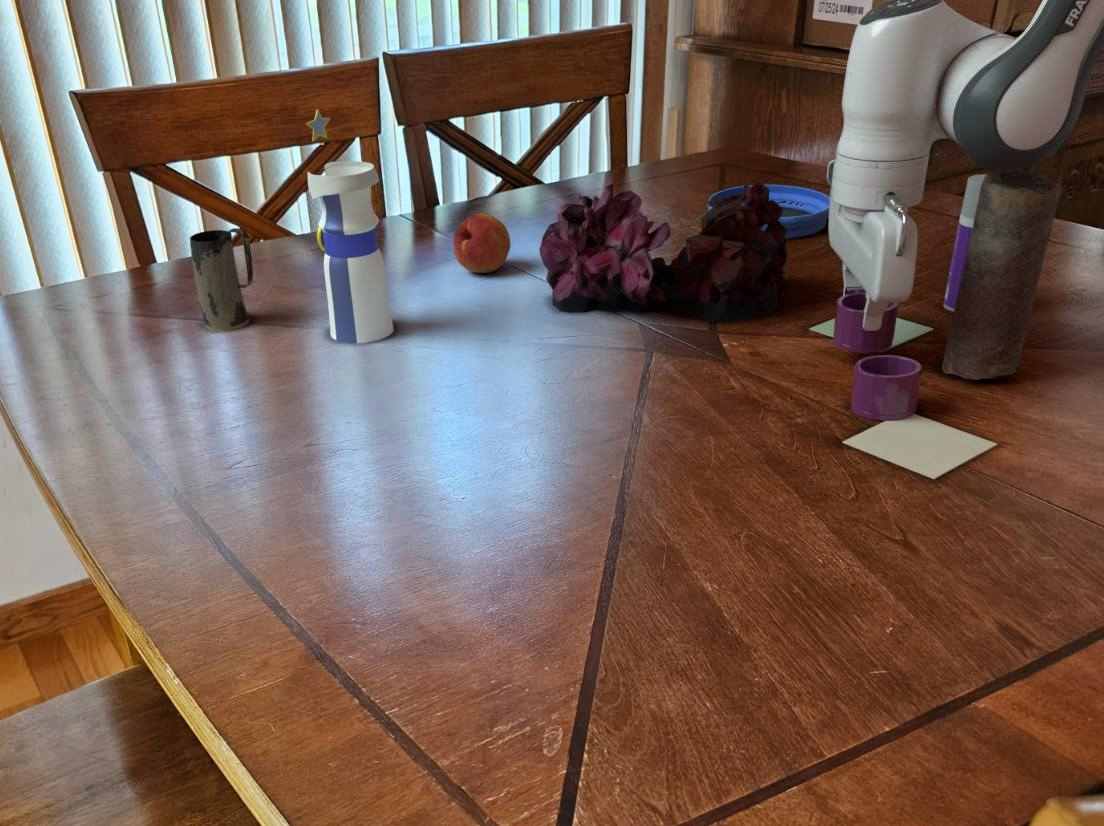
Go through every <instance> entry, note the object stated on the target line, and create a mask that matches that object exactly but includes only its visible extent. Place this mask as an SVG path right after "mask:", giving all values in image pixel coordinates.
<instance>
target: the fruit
mask: <svg viewBox="0 0 1104 826" xmlns="http://www.w3.org/2000/svg"><path fill="white" fill-rule="evenodd" d="M510 250H511V238H510V234H509V231H508V229H507V227H506V226H505V225H504V223H503V222H502V221H501V220H500V219H498V218H496V217H495V216H493V215H491V214H487V213H484V212H481V213H479V212H478V213H473V214H471V215H470V216H468V217H466V218H465V219H464V220H463V221H462V222H461V223H460V225H459V226H458V228H457V229H455V231H454V233H453V251H454V257H455V259H456V261H457V262H458V264H459V265H460V266H461V267H462V268H464V269H465V270H467V271H470V272H472V273H476V274H488V273H493V272H496V271H498V270H499V269H501V267H502V266H503V265H504V264H505V262H506V261H507V258H508V255H509V252H510Z"/></svg>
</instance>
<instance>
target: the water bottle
mask: <svg viewBox="0 0 1104 826" xmlns="http://www.w3.org/2000/svg"><path fill="white" fill-rule="evenodd" d="M314 115H315V116H314V119H312V120H311V121H308V122H306V123H305V124H306V126H307V127H309V128H310V129H311V130H312V140H311V141H312V142H314V141H315V140H317V139H318V138H320V137H322V138H324V139H328V134H327V130H326V126H327V125H328V124H329V122H330V121H331V117H323V116H322V115H321V113H320V111H319V109H316V112H315V114H314ZM323 168H324V174H325V175H321V174H320V175H318V174H313V173H310V172H309V171H307V184H308V185H307V186H308V191H309V194H310V196H311V199H312V200H315V199H316V198H319V200H320V202H321V217H320V219H319V221H318V228H317V233H316V240H317V244H318V247H319V248H320V250H321V251H323V252H324V257H323V272H324V279H325V289H326V297H327V298H326V299H327V307H328V317H329V330H330V337H331V338H332V339H333V340H334V341H336V342H339V343H344V344H367V343H373V342H377V341H381V340H383V339H385V338H387V337H389V336H391V335H392V334H393V332H394V324H393V317H392V312H391V305H390V300H389V299H390V298H389V293H388V291H389V290H388V283H387V276H386V268H385V262H384V261H385V260H384V257H383V254H382V252H381V250H380V248H379V242H378V241H379V240H378V231H377V225H378V224H379V223H380V218H379V217H378V216H377V214H376V212H375V211H374V208H373V204H372V187H373V186H374V185H376V184H378V183H379V181H380V177H379V174H378V172H377V170H376V167H375V165H374V164H373V163H371V162H367V161H359V160H358V161H354V160H341V161H340V160H339V161H330V162H327V163H326V164H325V165H323Z"/></svg>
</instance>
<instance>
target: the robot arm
mask: <svg viewBox="0 0 1104 826" xmlns="http://www.w3.org/2000/svg"><path fill="white" fill-rule="evenodd" d="M1103 48H1104V0H1042V1H1041V3H1040V4H1039V7H1038V8H1037V10H1036V12H1035V13H1034V16H1033V18H1032V19H1031V21H1030V23H1029V24H1028V26H1027V27H1026V28H1025V30H1024V31H1023V32H1022V33H1021V34H1020V35H1019V36H1018V37H1017V38H1016V37H1014V36H1012V35H1009V34H1007V33H1003V32H1000V31H998V30H994V29H991V28H988V27H986V26H983V25H981V24H979V23H977V22H975V21H973V20H971V19H969V18H967V17H965V16H964V15H962V14H960V13H959V12H957V11H956V10H954V9H953V8H952V7H950V6H949V5H948V4H947V3H946V2H945V1H944V0H890V1H887V2H885V3H882V4H879V5H878V6H876V7H874V8H871V9H870V10H868V11H867V12H866V14H865V15H863V16H862V17H861V19H860V20H859V22H858V24H857V26H856V28H855V30H854V35H853V38H852V41H851V44H850V48H849V53H848V58H847V62H846V63H847V64H846V69H845V75H844V76H845V77H844V81H843V89H842V98H841V109H842V115H843V116H842V117H843V125H842V131H841V135H840V138H839V140H838V142H837V145H836V152H835V159H832V160H830V161H829V162H828V164H827V172H826V181H827V183H828V184H829V186H830V192H829V197H830V203H829V217H828V239H829V240H828V241H829V245H830V248H832V250H833V251H834V252H835V253H836V255H837V256H838V257H839V259H840V261H842V278H843V280H842V281H843V294H842V296H844V295H847V294H852V293H858V292H866V299H867V302H866V306H865V310H862V314H861V322H860V323H861V325H862V327H863V328H864V330H866V331H877V330H879V329H880V328H881V324H882V317H883V314H884V312H885V310H886V308H887V306H888V304H889V303H893V302H898V303H903V302H906V301H908V300H909V299H910V297H911V295H912V293H913V289H914V281H915V274H916V273H915V272H916V265H917V254H918V241H919V239H918V238H919V236H918V235H919V234H918V227H917V224H916V222H915V221H914V220H913V218H912V217H910V216H909V215H908V212H909V208H912V207H914V206H918V205H919V204H920V203H922V201H923V198H924V191H925V186H926V179H927V172H928V165H929V160H930V154H931V153H930V152H931V147H932V144H933V143H934V142H935V141H937V140H942V139H943V140H945V139H948V140H949V139H951V140H952V141H954V142H955V143H957V145H959V146H960V147H961V148H962V150H963V151H964V152H965V154H966V156H968V157H969V159H970V160H972V162H974V164H976V165H978V166H979V167H981V168H983V169H985V170H987V171H991V172H1014V171H1024V170H1025V169H1029V168H1031V167H1034V166H1036V165H1037V164H1039V163H1041V162H1043V161H1044V160H1046V159H1047V158H1049V157H1050V156H1051V155H1053V154H1054V153H1055V152H1056V151H1057V150H1058V149H1059V148H1060V147H1061V146H1062V145H1063V144H1064V143H1065V142H1066V141H1067V139H1068V137H1069V136H1070V135H1071V133H1072V132H1073V130H1074V128H1075V126H1076V124H1077V122H1078V119H1079V117H1080V114H1081V111H1082V108H1083V104H1084V100H1085V96H1086V92H1087V89H1088V86H1089V81H1090V79H1091V75H1092V72H1093V69H1094V67H1095V64H1096V62H1097V60H1098V58H1099V56H1100V54H1101V52H1102V50H1103Z"/></svg>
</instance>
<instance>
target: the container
mask: <svg viewBox="0 0 1104 826" xmlns="http://www.w3.org/2000/svg"><path fill="white" fill-rule="evenodd" d="M987 174H988V173H984V174H973V175H971V176H969V177H968V178H967V183H966V187H965V192H964V197H963V202H962V206H961V211H960V215H959V220H958V225H957V230H956V236H955V241H954V246H953V251H952V255H951V262H950V267H949V272H948V277H947V283H946V289H945V294H944V299H943V305H942V306H943V307H944V309H946V310H947V311H950V312H953V313H954V309H955V305H956V301H957V296H958V292H959V288H960V284H961V280H962V275H963V269H964V265H965V260H966V255H967V251H968V246H969V242H970V237H971V234H972V229H973V224H974V218H975V213H976V209H977V205H978V201H979V195H980V189H981V186H982V183H983V180H984V177H985V176H986V175H987Z"/></svg>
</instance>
